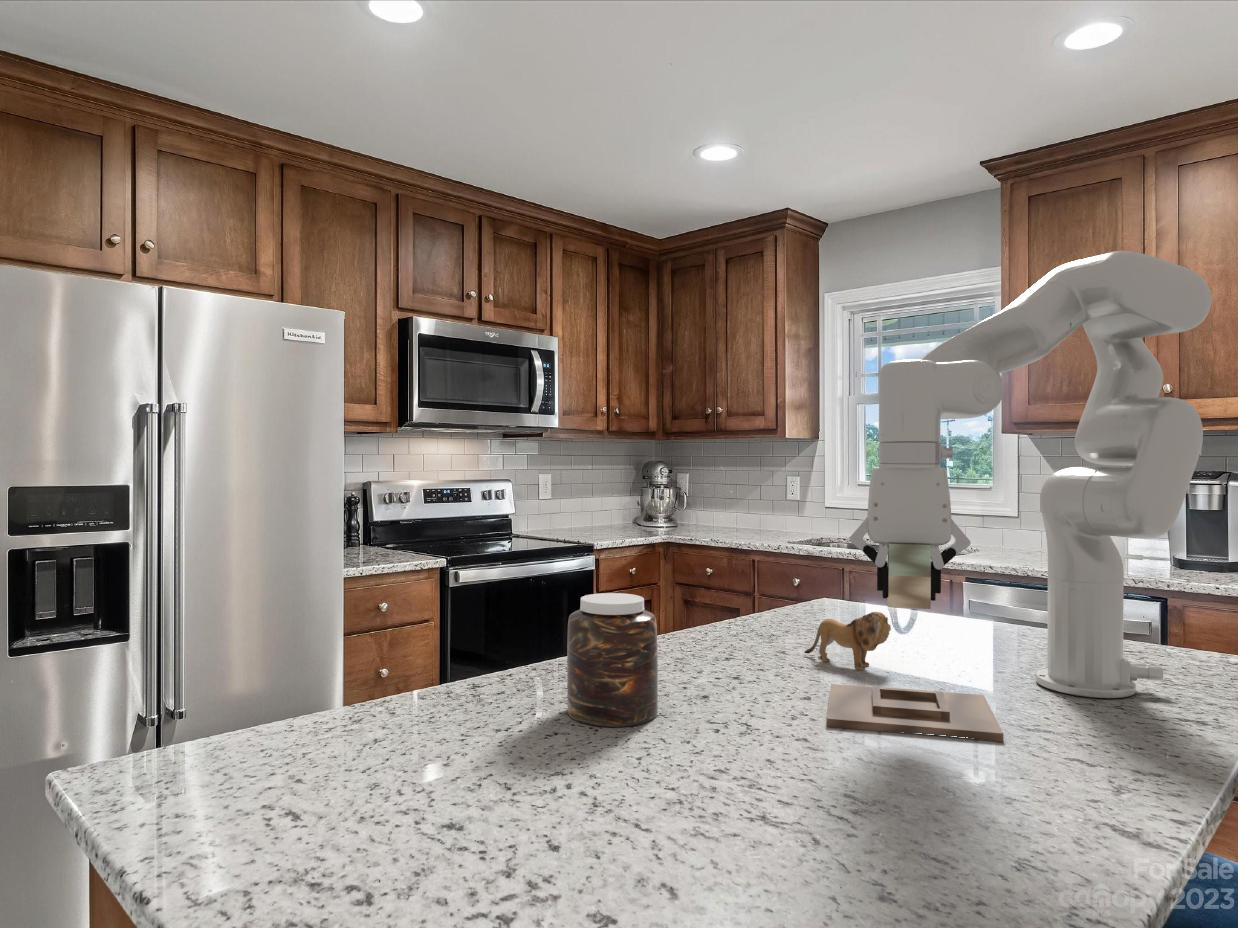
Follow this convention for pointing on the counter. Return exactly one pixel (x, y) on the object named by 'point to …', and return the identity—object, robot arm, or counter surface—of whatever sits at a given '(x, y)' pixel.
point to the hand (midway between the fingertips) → (908, 596)
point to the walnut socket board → (912, 712)
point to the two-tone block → (909, 576)
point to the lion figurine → (853, 636)
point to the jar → (612, 661)
